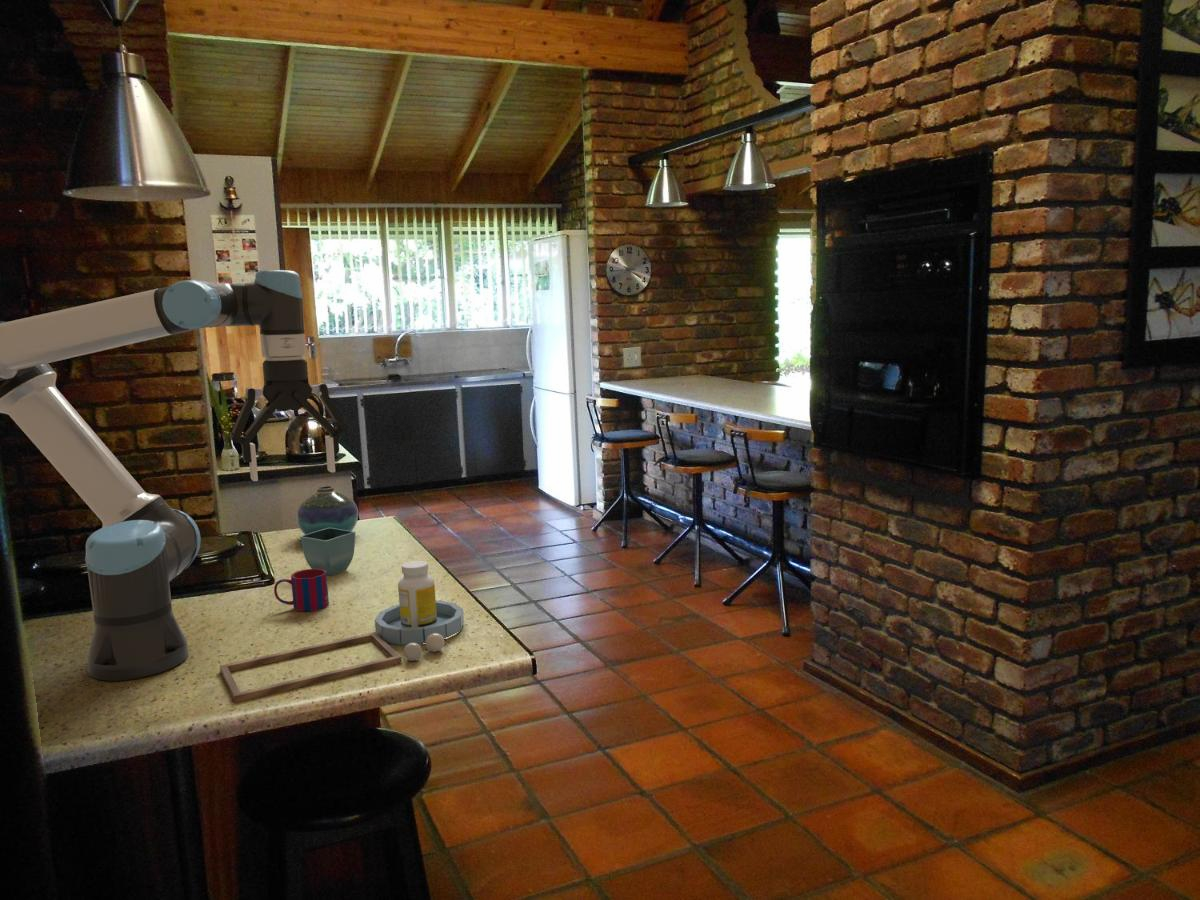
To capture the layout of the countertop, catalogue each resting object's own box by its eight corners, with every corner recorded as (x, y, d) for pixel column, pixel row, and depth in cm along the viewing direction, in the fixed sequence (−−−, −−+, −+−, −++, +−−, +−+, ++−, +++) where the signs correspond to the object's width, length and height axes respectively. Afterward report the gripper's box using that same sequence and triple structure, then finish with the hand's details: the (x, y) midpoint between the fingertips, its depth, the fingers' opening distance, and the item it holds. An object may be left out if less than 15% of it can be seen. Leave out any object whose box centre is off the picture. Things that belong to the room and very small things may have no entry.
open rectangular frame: (235, 702, 134) (234, 696, 133) (220, 671, 145) (219, 665, 145) (401, 662, 147) (401, 657, 147) (375, 637, 159) (375, 632, 158)
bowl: (393, 652, 151) (392, 636, 151) (366, 626, 164) (365, 611, 164) (476, 633, 159) (475, 617, 159) (444, 609, 172) (443, 595, 172)
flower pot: (329, 580, 194) (325, 540, 192) (301, 574, 198) (298, 536, 197) (359, 569, 201) (356, 531, 199) (332, 564, 206) (329, 527, 204)
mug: (328, 609, 174) (326, 576, 173) (275, 615, 172) (272, 582, 171) (329, 599, 181) (326, 567, 180) (277, 605, 178) (274, 572, 177)
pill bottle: (444, 621, 163) (440, 560, 161) (424, 633, 157) (420, 570, 156) (414, 618, 166) (410, 558, 164) (393, 629, 160) (389, 567, 158)
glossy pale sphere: (407, 665, 146) (406, 647, 145) (401, 659, 148) (400, 642, 148) (425, 661, 147) (423, 643, 147) (418, 655, 150) (417, 638, 149)
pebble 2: (430, 656, 149) (428, 638, 149) (423, 650, 152) (422, 632, 151) (447, 652, 151) (446, 634, 150) (441, 646, 154) (439, 628, 153)
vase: (322, 528, 240) (318, 480, 238) (371, 531, 235) (367, 482, 233) (285, 543, 226) (281, 492, 224) (337, 547, 221) (332, 494, 219)
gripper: (212, 363, 148) (223, 487, 152) (360, 356, 161) (367, 470, 164) (206, 361, 155) (217, 480, 158) (348, 354, 167) (356, 465, 171)
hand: (293, 475), depth 161 cm, fingers open, 13 cm apart
